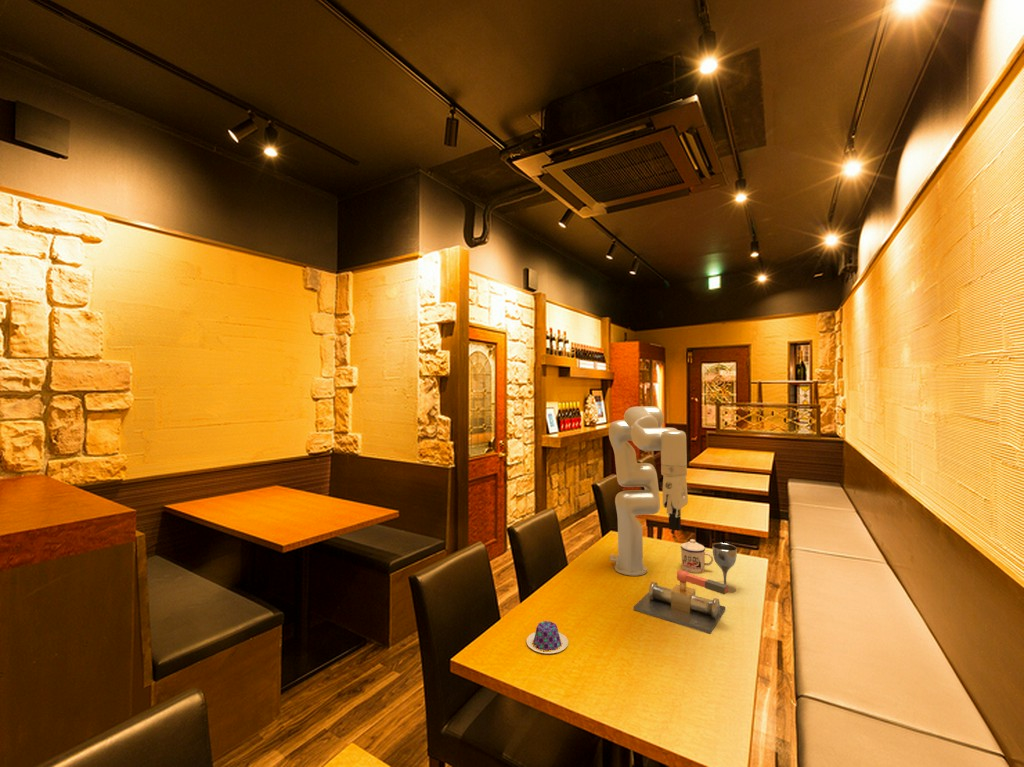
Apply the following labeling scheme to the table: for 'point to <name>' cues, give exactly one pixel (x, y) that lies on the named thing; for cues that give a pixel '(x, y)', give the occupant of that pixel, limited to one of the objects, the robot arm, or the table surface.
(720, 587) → the lever
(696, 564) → the teacup with lid
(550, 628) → the pudding
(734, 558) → the wine glass
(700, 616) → the valve
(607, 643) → the table surface
